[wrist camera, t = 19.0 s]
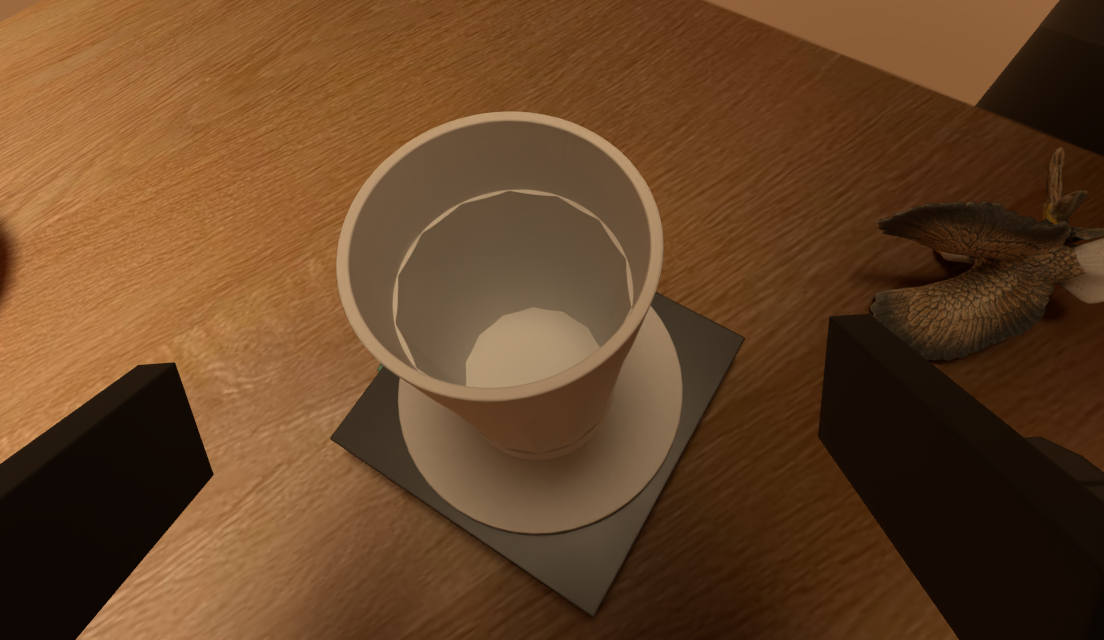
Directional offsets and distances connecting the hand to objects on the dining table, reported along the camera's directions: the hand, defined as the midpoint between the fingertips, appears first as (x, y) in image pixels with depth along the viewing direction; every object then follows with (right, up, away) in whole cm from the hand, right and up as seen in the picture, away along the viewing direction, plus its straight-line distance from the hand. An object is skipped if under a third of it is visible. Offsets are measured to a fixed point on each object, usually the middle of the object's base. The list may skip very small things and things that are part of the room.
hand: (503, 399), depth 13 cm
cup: (0, -1, +14) cm, 14 cm away
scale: (+1, -2, +16) cm, 16 cm away
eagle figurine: (+20, +3, +17) cm, 27 cm away
